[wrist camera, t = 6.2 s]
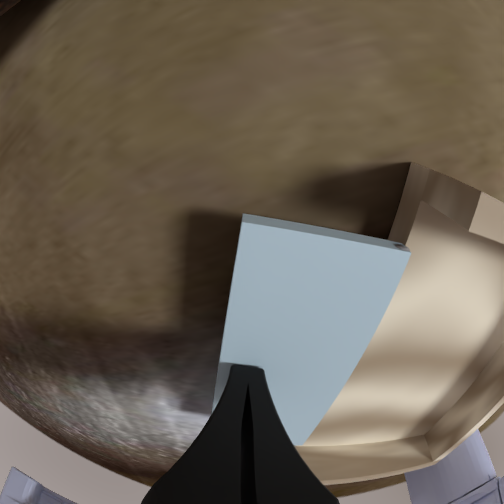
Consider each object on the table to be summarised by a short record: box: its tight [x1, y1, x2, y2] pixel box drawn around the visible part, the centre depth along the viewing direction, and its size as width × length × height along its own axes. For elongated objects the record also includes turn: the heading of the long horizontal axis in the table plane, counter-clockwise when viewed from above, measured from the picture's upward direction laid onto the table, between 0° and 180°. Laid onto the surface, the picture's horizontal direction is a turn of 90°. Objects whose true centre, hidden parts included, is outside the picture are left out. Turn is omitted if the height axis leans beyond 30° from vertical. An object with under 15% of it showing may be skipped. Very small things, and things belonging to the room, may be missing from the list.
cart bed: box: [295, 162, 504, 485], centre depth 12 cm, size 20×13×4 cm, turn 170°
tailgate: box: [211, 214, 411, 446], centre depth 12 cm, size 14×1×6 cm
